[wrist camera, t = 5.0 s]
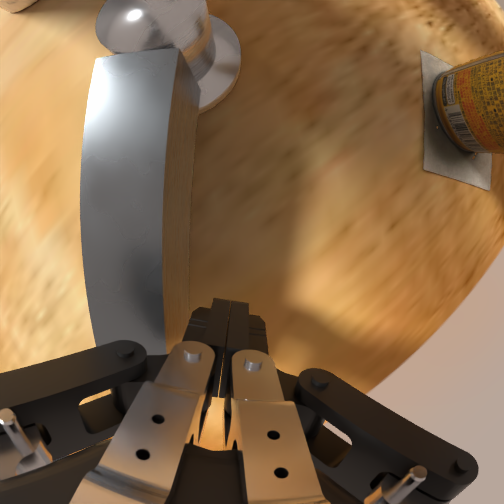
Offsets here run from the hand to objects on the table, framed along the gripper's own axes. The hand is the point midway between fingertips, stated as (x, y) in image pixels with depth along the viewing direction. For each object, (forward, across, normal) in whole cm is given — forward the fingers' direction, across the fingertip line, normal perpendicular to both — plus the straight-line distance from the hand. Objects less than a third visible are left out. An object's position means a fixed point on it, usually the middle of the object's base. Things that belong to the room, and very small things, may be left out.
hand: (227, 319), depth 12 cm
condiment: (+5, -13, -13) cm, 19 cm away
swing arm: (+3, +4, -6) cm, 8 cm away
